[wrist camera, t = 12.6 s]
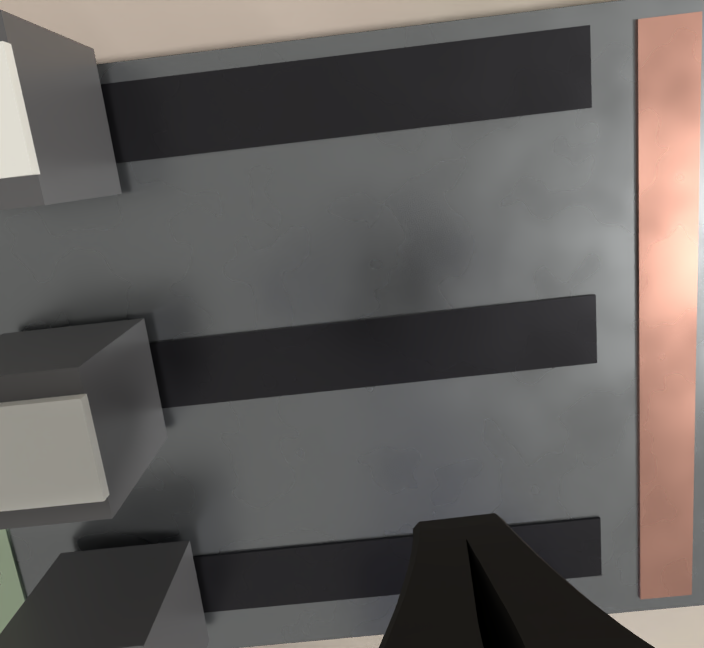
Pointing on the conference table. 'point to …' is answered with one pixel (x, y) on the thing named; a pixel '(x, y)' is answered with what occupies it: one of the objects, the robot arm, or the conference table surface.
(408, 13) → the conference table surface
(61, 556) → the breaker
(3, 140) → the block
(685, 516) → the panel
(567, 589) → the robot arm
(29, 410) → the breaker
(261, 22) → the conference table surface
